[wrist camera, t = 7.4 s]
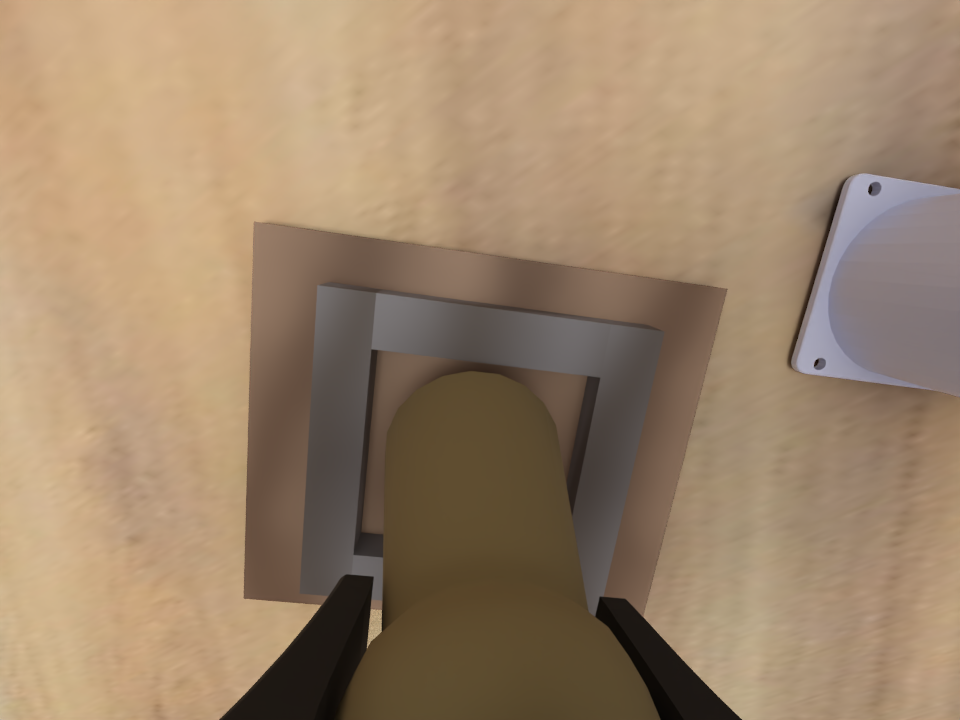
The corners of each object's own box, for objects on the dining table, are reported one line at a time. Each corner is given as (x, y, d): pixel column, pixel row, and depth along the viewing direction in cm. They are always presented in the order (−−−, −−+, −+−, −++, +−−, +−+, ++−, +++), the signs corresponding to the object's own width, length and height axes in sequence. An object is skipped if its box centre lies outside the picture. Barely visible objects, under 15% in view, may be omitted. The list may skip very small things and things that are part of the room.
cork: (492, 550, 17) (552, 1068, 7) (351, 474, 16) (164, 980, 6) (594, 430, 16) (857, 856, 6) (448, 336, 15) (438, 669, 4)
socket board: (713, 287, 19) (750, 292, 17) (631, 614, 23) (652, 658, 20) (265, 223, 18) (234, 218, 15) (253, 582, 21) (226, 625, 19)
